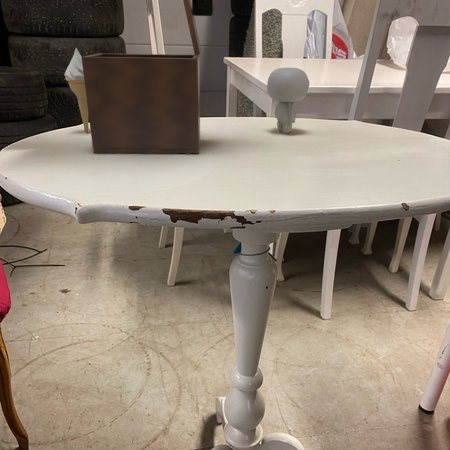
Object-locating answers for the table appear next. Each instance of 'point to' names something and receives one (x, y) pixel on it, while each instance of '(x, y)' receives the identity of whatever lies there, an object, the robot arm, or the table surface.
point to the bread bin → (143, 103)
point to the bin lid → (192, 27)
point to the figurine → (287, 94)
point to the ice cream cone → (78, 85)
